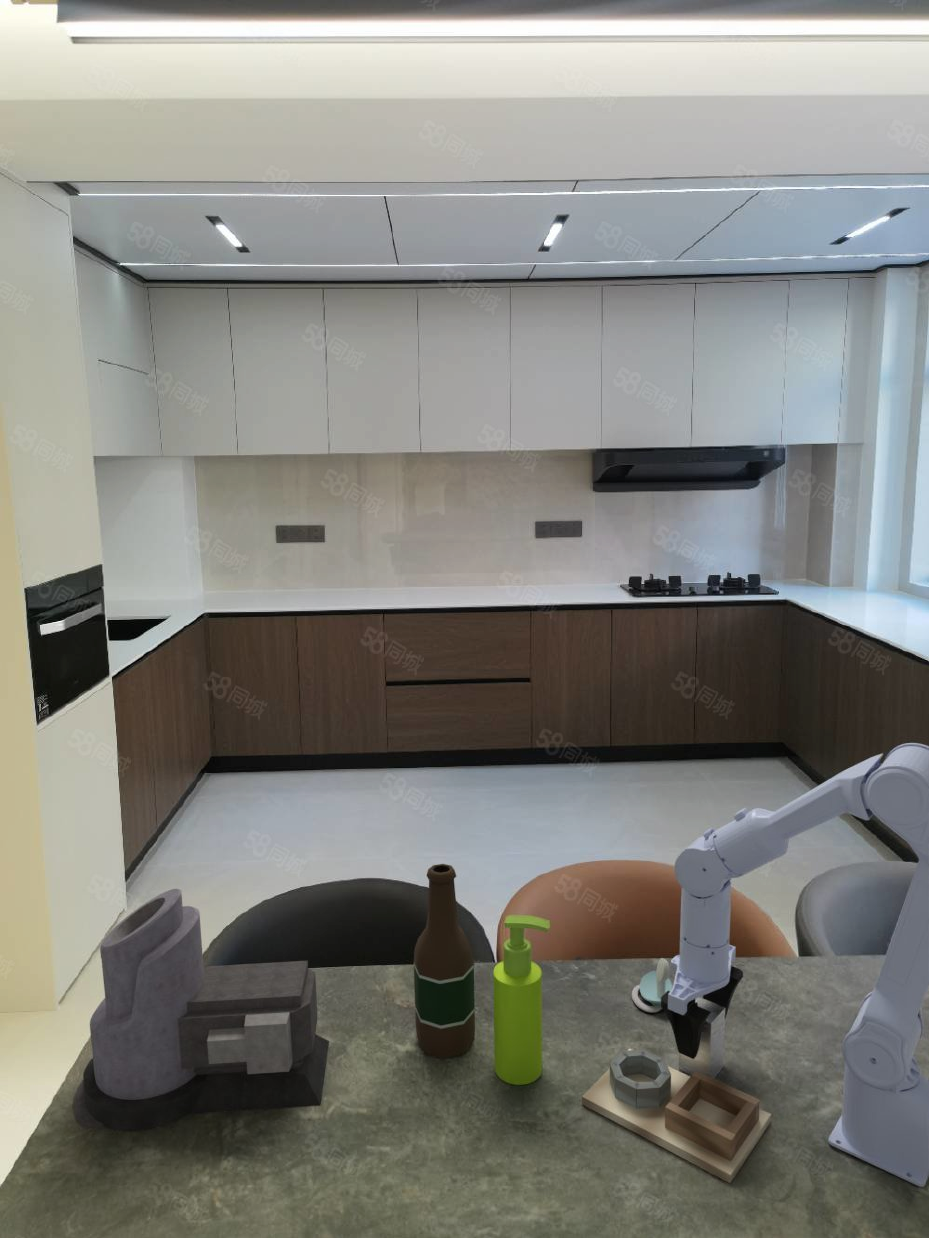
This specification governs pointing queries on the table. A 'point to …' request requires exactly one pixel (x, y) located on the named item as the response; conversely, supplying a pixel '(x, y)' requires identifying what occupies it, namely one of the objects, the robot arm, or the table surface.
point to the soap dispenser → (518, 1005)
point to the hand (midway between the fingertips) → (701, 1038)
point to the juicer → (194, 1028)
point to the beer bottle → (443, 973)
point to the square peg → (708, 1043)
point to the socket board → (680, 1111)
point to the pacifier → (653, 987)
